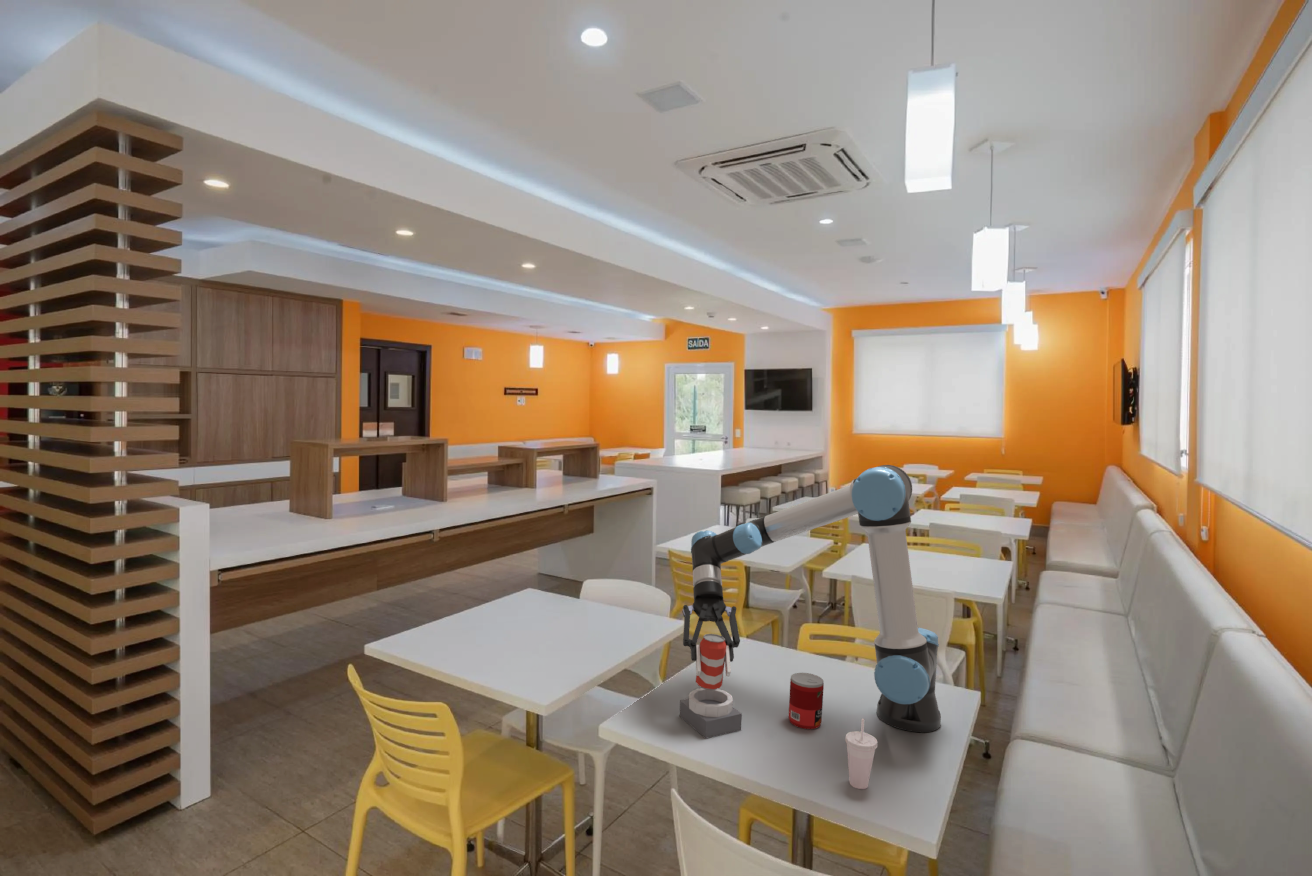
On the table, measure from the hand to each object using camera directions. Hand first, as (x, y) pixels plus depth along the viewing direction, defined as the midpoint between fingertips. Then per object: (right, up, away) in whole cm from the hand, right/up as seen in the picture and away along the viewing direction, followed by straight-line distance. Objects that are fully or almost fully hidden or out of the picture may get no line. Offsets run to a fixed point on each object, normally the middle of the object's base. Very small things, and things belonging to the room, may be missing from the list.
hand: (713, 673), depth 160 cm
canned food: (+23, -15, +7) cm, 28 cm away
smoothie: (+28, -16, -20) cm, 38 cm away
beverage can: (-1, -4, +3) cm, 6 cm away
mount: (-1, -13, +4) cm, 14 cm away
